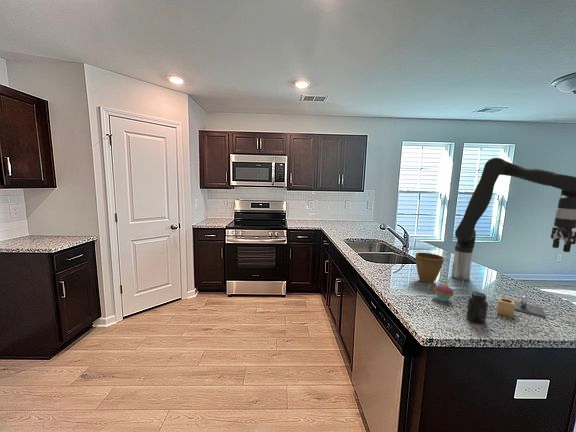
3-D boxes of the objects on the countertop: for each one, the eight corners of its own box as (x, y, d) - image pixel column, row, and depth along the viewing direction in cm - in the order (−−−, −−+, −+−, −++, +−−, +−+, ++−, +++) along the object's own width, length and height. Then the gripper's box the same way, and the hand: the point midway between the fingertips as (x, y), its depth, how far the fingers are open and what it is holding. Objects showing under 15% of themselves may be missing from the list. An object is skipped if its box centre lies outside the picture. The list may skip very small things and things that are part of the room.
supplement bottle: (462, 316, 110) (465, 290, 109) (476, 316, 111) (479, 290, 109) (475, 325, 103) (478, 297, 102) (490, 324, 104) (493, 297, 102)
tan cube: (496, 313, 114) (498, 300, 113) (496, 308, 118) (498, 296, 117) (513, 317, 110) (514, 304, 109) (512, 312, 114) (514, 300, 114)
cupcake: (450, 297, 129) (452, 275, 128) (455, 304, 121) (457, 281, 120) (431, 294, 132) (433, 272, 131) (435, 301, 124) (437, 278, 123)
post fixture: (504, 307, 119) (505, 295, 119) (503, 300, 127) (504, 289, 126) (545, 317, 111) (547, 304, 110) (541, 309, 118) (543, 297, 118)
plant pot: (414, 283, 146) (416, 257, 144) (412, 275, 160) (414, 251, 158) (443, 288, 141) (446, 260, 139) (438, 279, 155) (441, 254, 153)
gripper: (547, 215, 131) (542, 245, 133) (565, 218, 117) (559, 252, 120) (566, 216, 128) (561, 247, 130) (587, 220, 115) (580, 254, 117)
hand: (560, 249), depth 125 cm, fingers open, 8 cm apart
